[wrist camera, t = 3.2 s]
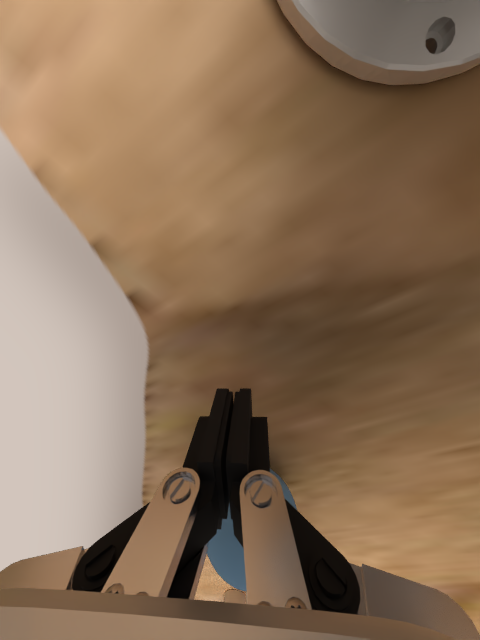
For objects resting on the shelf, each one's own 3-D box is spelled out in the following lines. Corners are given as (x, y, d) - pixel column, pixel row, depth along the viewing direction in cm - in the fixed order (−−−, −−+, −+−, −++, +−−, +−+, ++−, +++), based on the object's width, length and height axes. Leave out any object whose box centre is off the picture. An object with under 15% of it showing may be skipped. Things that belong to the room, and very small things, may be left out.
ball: (208, 441, 16) (182, 548, 11) (293, 443, 16) (311, 558, 10) (216, 495, 19) (197, 608, 13) (291, 499, 18) (305, 620, 12)
